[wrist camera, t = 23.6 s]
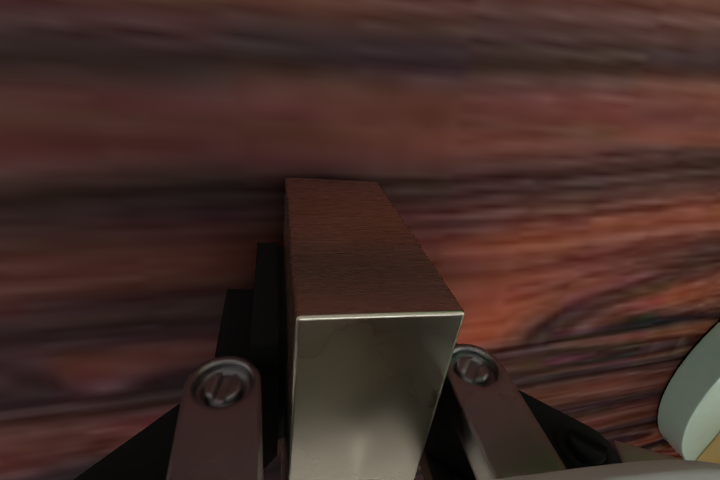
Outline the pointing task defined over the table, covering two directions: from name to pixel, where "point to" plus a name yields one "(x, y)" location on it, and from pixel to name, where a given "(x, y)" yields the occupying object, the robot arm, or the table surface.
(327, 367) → the cake knife
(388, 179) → the table surface
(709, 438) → the cake plate
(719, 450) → the cake piece
